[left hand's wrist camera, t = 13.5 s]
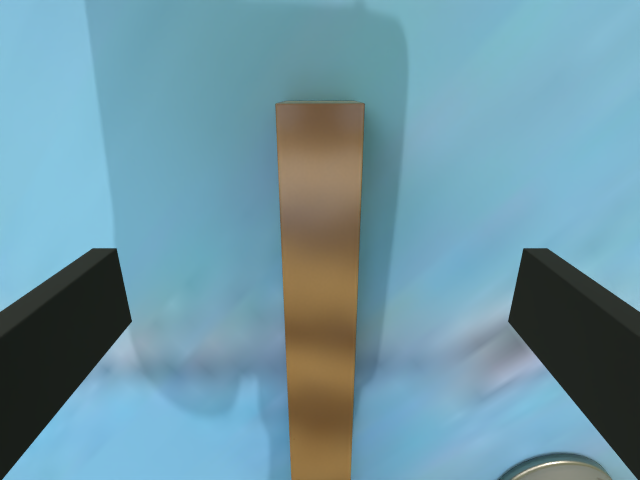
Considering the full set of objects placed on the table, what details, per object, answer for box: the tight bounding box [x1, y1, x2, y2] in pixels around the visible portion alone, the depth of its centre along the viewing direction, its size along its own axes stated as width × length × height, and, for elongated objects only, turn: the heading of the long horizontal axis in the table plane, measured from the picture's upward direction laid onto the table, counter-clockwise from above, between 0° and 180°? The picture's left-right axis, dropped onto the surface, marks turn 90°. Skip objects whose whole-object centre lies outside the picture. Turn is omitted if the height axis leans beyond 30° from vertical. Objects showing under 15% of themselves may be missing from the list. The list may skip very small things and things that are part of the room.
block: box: [275, 101, 365, 480], centre depth 42 cm, size 74×6×8 cm, turn 0°
